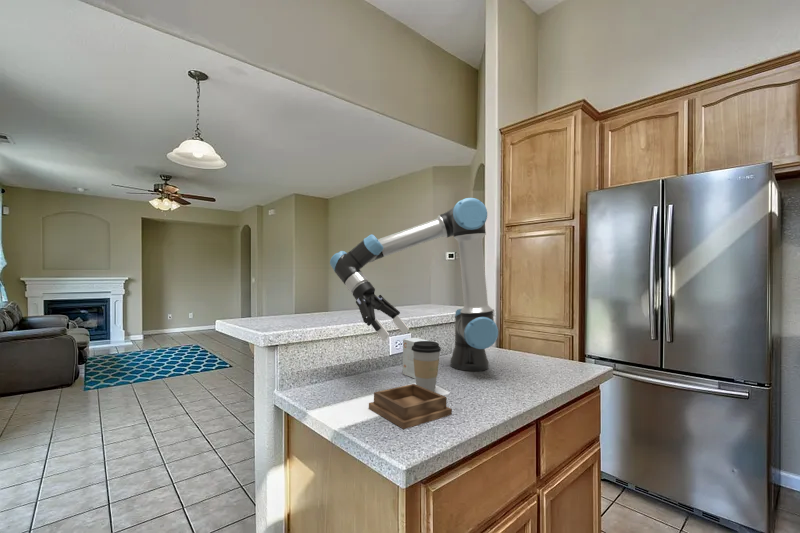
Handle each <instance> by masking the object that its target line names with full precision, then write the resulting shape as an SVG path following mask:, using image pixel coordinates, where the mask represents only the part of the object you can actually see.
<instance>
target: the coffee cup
mask: <svg viewBox="0 0 800 533" xmlns="http://www.w3.org/2000/svg"><path fill="white" fill-rule="evenodd" d="M411 350H413V354H414V358H413V360H414V372H415V378H416V379H415V384H416V385H418V386H421V387H423V388H425V389H428V390H430V391H433V392H435V391H436V386H437V377H438V374H439V363H440V352H441V351H442V349H441V346H440V345H439V342H436V341H430V340H428V341H418V342H414V345H413V346H412V349H411ZM435 393H436V392H435Z"/></svg>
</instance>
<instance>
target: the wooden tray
mask: <svg viewBox="0 0 800 533" xmlns="http://www.w3.org/2000/svg"><path fill="white" fill-rule="evenodd" d="M368 409H369V410H370V411H372V412H373V413H375V414H378V415H379V416H380V417H382V418H384V419H386V420H387V421H389V422H391V423H393V424H394V425H396V426H397V427H399V428H401V429H403V430H405V429H409V428H412V427H416V426H419V425H422V424H425V423H426V424H427V423H429V422H431V421H435V420H439V419H441V418H445V417H448V416H451V415H452V413H453V412H452V411H453V410H452V408H451V407H449V406H447V396H445V395H442V394H440V393H437V392H433V391H430V390H428V389H425V388H423V387H421V386H418V385H416V383H411V384H407V385H401V386H398V387H391V388H388V389H383V390H378V391H374V392H373V401H372V402H368Z"/></svg>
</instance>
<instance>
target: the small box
mask: <svg viewBox="0 0 800 533" xmlns="http://www.w3.org/2000/svg"><path fill="white" fill-rule="evenodd" d="M418 341H429V340H427V339H424V338H420V337H409V338H403V339H402V342H403V343H402V375H404V376H407V377H410V378H412V379H414V380H416V378H415V372H414V360H413V358H414V354H413V350H411V349H412V346H413V345H414V342H418Z"/></svg>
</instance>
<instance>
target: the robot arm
mask: <svg viewBox="0 0 800 533" xmlns="http://www.w3.org/2000/svg"><path fill="white" fill-rule="evenodd" d="M487 220H488V209H487V207H486V205H485V204H484V202H482V201H481V200H479V198H474V197H466V198H463V199H460V200H459V201H457V203H456V204H454V206H453V207H452V208H451V209H449V210H447V211H445V212H444V213H441V214H439V215H437V217H436V218H435V219H432V220H429V221H426V222H423V223H420V224H417V225H415V226H412V227H409V228H406V229H404V230H401V231H398V232H395V233H392V234H389V235H386V236H383V237H381V238H377V237H376V236H375V235H374V234H369V235H368V236H366V237H364V238H363V239H362V240H361V241H360V242H359V243H358V244H357V245H356V246H354V247H353V248H352V249H351V250H349V251H348V252H347V251H344V250H340V251H338V252H335V253H334V254H333V255H332V256H331V258H330V260H329V264H330V267H331V268H332V269H333V272H334V273H335V274H336V275H337V277H338V278H339V279H340V281H341V283H343V285H344V286H345V287H346V288H347V291H349V293H351V294H352V296H353V298H354V299H355V304H356V306H358V309H359V312H360V315H361V318H362V320H363V323H364V324H366V325H367V326H368V327H369V326H371V327H372V328H373V329H374V331H375V332H376V333H377V334H378V335H379V337H380V338H381V340H382V341H385V340H386V339H387V338H388V337H389V336H390V333H389V332H388V331H387V329H386V328H385V327H384V325H383V324H382V322H380V320H379V318H376V314H375V310H377V311H379V312H380V311H381V312H382V313H384V315H386V316H387V317H389V318H391V319H392V321H393V323H394V324H395V326H396V327H397V328H398V329H399V331H400V332H401V333H402V334H403V335H405V334H406V333H407V332H408V331H410V328H409V326H407V325H406V323H405V322H404V321H403V318H401V316H400V314H401V312H400V310H399V309H397V308H396V307H395V306H394V305H393V304H391V303H390V302H389V301H388V300H386V298H384V297H383V295H381V294H379V295H378V296H377V295H376V294H375V291H376V288H375V286H374V285H373V284H372V283H371V282H370V281H369V278H367V277H366V275H365V274H364V273H363V272H362V270H361V269H362V268H364V267H365V266H366V265H367V264H368V263H369V264H370V263H372V262H375V261H376V260H379V259H380V260H381V259H382V258H385V257H388V256H391V255H393V254H396V253H399V252H400V253H401V252H402V251H404V250H407V249H411V248H413V247H417V246H419V245H422V244H425V243H428V242H431V241H434V240H437V239H439V238H442V237H443V238H444V239H447V238H450V237H453V239H454V240H456V242H457V243H458V253H459V254H458V255H459V264H460V265H459V266H460V274H461V287H462V298H463V299H462V300H463V307H462V308H458V309H456V310H455V313H454V314H455V315H454V319H455V320H454V324H455V325H454V348H453V351H452V354H451V357H450V360H449V361H450V364H449V365H450V366H451V368H453V369H456V370H459V371H466V372H467V371H468V372H481V371H485V370H488V369H489V368H490V367H489V366H490V365H489V364H490V363H489V362H490V361H489V360H488V357H487V352H486V350H487V349H488V348H490V347H492V346H493V345H494V344H495V343H496V341H497V339H498V336H499V329H498V328H499V327H498V326H497V323H496V322H495V321H494V310H493V308H492V307H491V306H489V303H488V294H487V292H488V290H487V281H486V271H485V258H484V247H483V238H484V237H485V236H486V235H487V233H486V222H487Z"/></svg>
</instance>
